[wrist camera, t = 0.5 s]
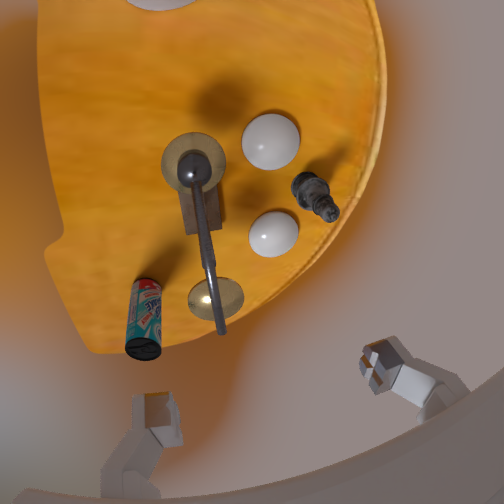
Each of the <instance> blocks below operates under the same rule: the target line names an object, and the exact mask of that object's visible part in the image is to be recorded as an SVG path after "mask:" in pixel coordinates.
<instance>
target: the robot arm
mask: <svg viewBox="0 0 504 504" xmlns="http://www.w3.org/2000/svg"><path fill="white" fill-rule="evenodd" d="M127 1H128V2H129V3H131V4H133V5H135V6H137V7H139V8H143V9H147V10H155V11H162V10H171V9H176V8H179V7H183V6H185V5H188V4H190V3H192V2H194V1H196V0H127ZM363 353H364V355H363V356H362V357H361V358H360V362H359V365H360V370H361V373H362V375H363V376H364V378H367V379H369V386H370V387H371V389H372V391H373V392H374V394H375V395H378V394H380V393H383V392H385V391H388V390H390V389H391V390H392V391H394V392H395V393H397V394H399V395H400V396H402V397H404V398H405V399H407V400H409V401H410V402H412V403H414V404H416V405H417V406H419V407H421V408H422V409H421V410H420V412H419V413H418V415H417V417H416V418H417V420H418V422H419V423H420V425H418V426H417V427H415V428H413V429H411V430H409V431H407V432H406V433H403V434H402V435H400V436H398V437H396V438H394V439H392V440H389V441H388V442H385V443H383V444H381V445H379V446H377V447H375V448H372V449H370V450H368V451H365V452H363V453H361V454H359V455H356V456H353V457H351V458H348V459H346V460H343V461H341V462H338V463H335V464H333V465H330V466H327V467H324V468H321V469H318V470H315V471H312V472H309V473H306V474H302V475H299V476H296V477H292V478H288V479H285V480H281V481H277V482H273V483H269V484H265V485H260V486H256V487H251V488H246V489H241V490H235V491H230V492H224V493H217V494H209V495H201V496H193V497H181V498H168V499H167V498H166V499H161V495H160V490H159V489H157V488H156V487H155V486H154V485H153V484H151V483H150V482H149V481H148V479H149V478H150V475H151V474H152V472H153V470H154V468H155V466H156V464H157V462H158V459H159V457H160V455H161V453H162V452H163V448H167V447H175V446H182V445H183V438H182V431H181V429H180V428H179V424H180V423H181V421H180V415H179V410H178V407H177V404H176V402H175V401H173V395H172V393H171V392H170V391H168V392H159V393H147V394H137V395H133V398H132V429H131V430H128V431H127V432H126V434H125V435H124V437H123V438H122V440H121V441H120V443H119V444H118V445H117V447H116V448H115V450H114V451H113V453H112V454H111V455H110V457H109V458H108V460H107V461H106V463H105V464H104V466H103V467H102V469H101V498H96V497H84V496H76V495H68V494H61V493H55V492H49V491H44V490H39V489H35V488H26V489H24V490H23V491H22V492H21V493H20V494H19V495H18V496H17V497H16V498H15V499H14V500H13V501H12V503H10V504H504V367H503V368H502V369H501V370H500V371H498V372H497V373H496V374H495V375H493V376H492V377H491V378H490V379H489V380H487V381H486V382H484V383H483V384H482V385H480V386H479V387H478V388H476V389H475V390H474V391H472V392H470V390H469V389H468V388H467V387H466V385H465V384H464V383H463V382H462V380H461V379H460V378H459V377H458V375H457V374H455V373H452V372H449V371H447V370H444V369H442V368H440V367H437V366H434V365H433V364H430V363H428V362H425V361H423V360H421V359H418V358H415V359H414V358H413V357H412V355H411V354H410V353H409V352H408V351H407V349H406V348H405V347H404V346H403V344H402V343H401V342H400V341H399V339H398V338H397V337H396V336H391V337H388V338H386V339H382V340H379V341H376V342H374V343H371V344H368V345H366V346H365V347H364V348H363Z"/></svg>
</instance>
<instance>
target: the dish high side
mask: <svg viewBox="0 0 504 504" xmlns="http://www.w3.org/2000/svg"><path fill="white" fill-rule="evenodd" d="M248 238H249V242H250V245H251V247H252V249H253V250H254V251H255V252H256V253H257V254H259V255H261V256H264V257H276V256H279V255H282V254H284V253H286V252H287V251H289V250H290V249H291V248H292V247H293V245H294V244H295V242H296V240H297V238H298V226H297V224H296V222H295V221H294V219H293V218H292V217H291V216H290V215H288V214H287V213H284V212H280V211H272V212H268V213H265V214H263V215H261V216H260V217H258V218H257V219H256V220H255V221H254V222H253V224H252V225H251V227H250V230H249V234H248Z"/></svg>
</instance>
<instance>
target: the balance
mask: <svg viewBox="0 0 504 504" xmlns="http://www.w3.org/2000/svg"><path fill="white" fill-rule="evenodd" d="M225 168H226V158H225V154H224V151H223V149H222V147H221V145H220V144H219V143H218V142H217V141H216V140H215V139H214V138H212V137H211V136H209V135H207V134H204V133H199V132H190V133H185V134H182V135H180V136H178V137H176V138H175V139H173V140H172V141H171V142H170V143H169V144H168V146H167V147H166V149H165V151H164V153H163V156H162V160H161V170H162V174H163V176H164V178H165V180H166V182H167V183H168V184H169V185H170V186H171V187H172V188H174V189H175V190H177V191H178V194H179V199H180V205H181V210H182V215H183V220H184V225H185V230H186V235H191V234H196V233H198V237H199V245H200V253H201V260H202V267H203V268H204V269H205V274H206V279H204V280H202V281H200V282H199V283H197V284H196V285H195V286H194V287H193V288H192V289H191V291H190V292H189V295H188V305H189V308H190V310H191V312H192V313H193V314H194V315H195V316H197V317H199V318H201V319H204V320H210V321H215V324H216V328H217V333H218V335H225V334H226V333H227V330H226V325H225V320H224V319H226V318H228V317H231V316H232V315H234V314H235V313H237V312H238V311H239V310H240V308H241V307H242V305H243V302H244V293H243V290H242V288H241V286H240V285H239V284H238V283H237V282H235V281H234V280H232V279H229V278H225V277H217V276H216V270H215V267H216V260H215V255H214V250H213V245H212V240H211V234H210V231H214V230H220V229H222V223H221V215H220V207H219V199H218V191H217V183H218V182H219V181H220V179H221V178H222V176H223V174H224V172H225Z"/></svg>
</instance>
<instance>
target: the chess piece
mask: <svg viewBox="0 0 504 504" xmlns="http://www.w3.org/2000/svg"><path fill="white" fill-rule="evenodd" d="M291 191H292V194H293V195H294V196H295V197H296V200H297V203H298V204H299V206H300V207H301V208H303V209H305V210H308V211H312V210H313V212H314V213H315V214H316V215H319V216H321V218H322V219H323V220H324V221H325V222H328V223H331V222H334V221H336V220H337V219H338V217H339V214H340V210H339V208H338V206H337V205H336V204H335V203H334V201H333V198H332V197H331V196H330V189H329V185H328V184H327V182H326V181H324V180H323V179H321V178H318V177H317V176H316V175H315V174H314V173H312V172H303V173H300V174H299V175H297V176H296V177H295V178H294V180H293V182H292V184H291Z"/></svg>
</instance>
